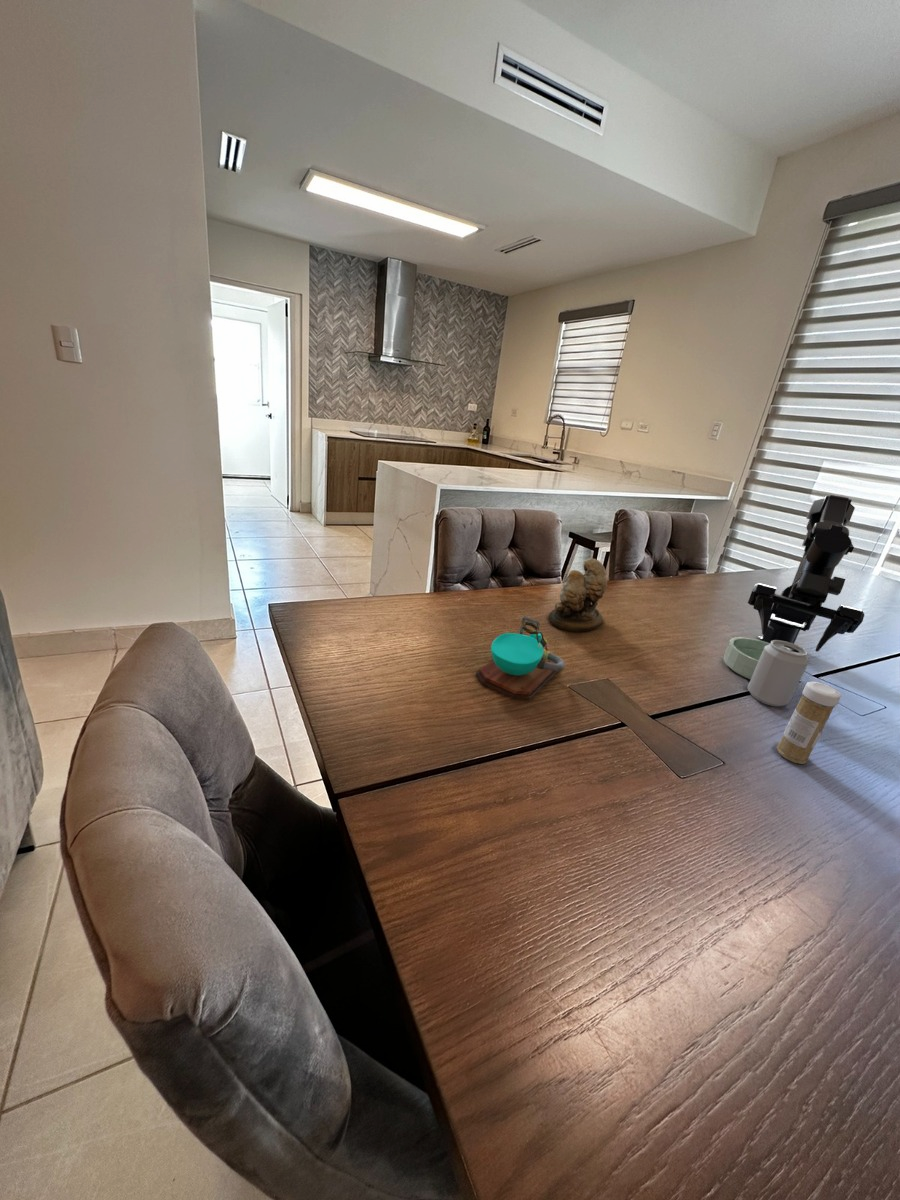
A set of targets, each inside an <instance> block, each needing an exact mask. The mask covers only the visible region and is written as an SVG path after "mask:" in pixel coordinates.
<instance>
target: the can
mask: <svg viewBox="0 0 900 1200" xmlns="http://www.w3.org/2000/svg"><path fill="white" fill-rule="evenodd" d="M808 653H809V652H808V651H807V649H805V648H803V647H801V646H800V645H798V644H795V643H794V644H793V643H790V642H786V641H781V640H773V641H771V644H769V645H767V646H765V647H764V650H763V652H762V654H761V657H760V659H759V661H758V664H757V666H756V668H755V671H754V673H753V676H752V678H751V680H750V679H749V682H748V685H747V690H748V692H749V694H750V696H752V697H753V698H754V699H755V700H756V701H758V702H760V703H762V704H765V705H767V706H770V707H771V706H772V707H778V708H779V707H783V706H788V705H789V704H790V703H791V702H792V698H793V697H794V694H795V693H796V690H797V689H798V686H799V684H800V681H801V680H802V677H803V676H804V673H805V671H806V669H807V667H808V664H809V658H808V657H807V656H808Z"/></svg>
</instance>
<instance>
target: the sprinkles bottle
mask: <svg viewBox="0 0 900 1200" xmlns="http://www.w3.org/2000/svg"><path fill="white" fill-rule="evenodd" d="M840 699H841V693H840V692H839V691H838V690H837V689H835V688H834V687H832V686H830V685H827V684H825V683H822V682H818V681H808V682H806V683H805V686H804V688H803V690H802V693H801V697H800V699H799V701H798V703H797V705H796V707H795V709H794V711H793V713H792V715H791V717H790V719H789V721H788V723H787V725H786V727H785V728H784V732H783V735H782V737H781V739H780V741H779V743H778V744H777V746H776V752H777V753H778V754H779V756H781V757H782V758H784V759H786V760H788V761H790V762H791V763H794V764H799V765H804V764H806V763H808V762H809V757H810V756H811V753H812V752H813V749H814V748H815V747H816V745H817V743H818V741H819V739H820V737H821V735H822V732H823V730H824V728H825V725H826V723H827V722H828V720H829V719H830V715H831V714H832V712H833V709H834V708H835V707H836V706H837V705H838V704H839V701H840Z"/></svg>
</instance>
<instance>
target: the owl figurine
mask: <svg viewBox="0 0 900 1200" xmlns="http://www.w3.org/2000/svg"><path fill="white" fill-rule="evenodd" d="M583 570H584V574H583V573H582V572H581V571H579V570H577V569H571V570H569V572H568V575H567V576H566V577H565V578H564V581H563V583H562V587H561V589H560V593H559V600H560V602H556V603H555V605H554V609H553V610H551V611H550V612H549V615H548V621H549V623H550V624H551V625H552V626H554V627H555V628H558V629H560V630H564V631H566V632H570V633H571V632H572V633H573V632H574V633H579V632H580V633H582V632H588V631H592V630H595V629H597V628H598V627H599V626H600V625H601V624H602V622H603V615H602V614H601V612H600V611H599V610H598V609H597V606H598V603H599V601H600V600H601V599H602V598H603V597H604V594H605V593H606V590H607V587H608V577H607V571H606V568H605V566H604V564H603V563H602V562H601V561H600V560H599V559H596V558H593V557H589V558H587V559H585V560H584V563H583Z"/></svg>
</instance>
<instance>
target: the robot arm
mask: <svg viewBox="0 0 900 1200" xmlns="http://www.w3.org/2000/svg"><path fill="white" fill-rule="evenodd" d="M852 501H853V499H851V498H849V497H846V496H841V495H834V494H829V495H828V494H827V495H825V496H824V498H819V499H816V500H813V502H812V504H811V506H810V508H809V510H808V512H807V516H806V520H807V521H808V522H807V524H806V526H805V527H806V530H807V532H806V534H805V537H804V539H803V542H802V545H801V546H802V547H804V548H803V549H804V550H803V551H804V552H803V554H802V557H801V560H800V562H799V565H798V568H797V570H796V572H795V575H794V578H793V580H792V583H791V585H790V586H787V587H785V588H784V590H782V591H781V593H780V594H777V593H776V591H777V586H771V585H768V584H765V583H761V582H758V583H755V584H754V585H753V588H752V589H751V593H750V596H749V599H748V601H747V604H748V605H749V606H753V610H755V611H757V612H758V615H759V619H760V627H761V636H759V635H758V637H757V640H761V641H764V642H768V643H770V644H771V641H773V640H781V641H786V642H790V643H793V644H795V643H796V640H797V638H798V635H799V634H800V632H801V631H803V632H806V631H810V628H811V626H812V624H813V623H814V621H815V619H816V617H817V616H818V617H821V618H824V619H828V620H830V621H829V624H828V625H827V626H826V628H825V630H824V631H823V634H822V635H821V637H820V639H819V641H818V643H817V644H816V648H815V652H820V650H821V649H822V648H823V647H824V646H825V644H827V642H828V641H829V640H830V639H831V638H833V637H835V636H836V635H837V634H838V635H845V633H847V634H853V633H854V632H856V630H857V629H858V628H859V627H860V625H862V623H863V621H864V618H865V612H864V610H863V609H860V608H857V607H852V606H849V605H846V604H845V605H844V604H839V606H838V608H837V609H832V608H829V607H825V606H822V605H823V604H825V602H826V601H827V598H828V595H832V596H833V595H834V596H839V595H840V594H841V592H842V591H843V588H844V585H845V582H846V578H844V577H839V576H833V574H834V571H835V569H836V567H837V566H839V564H840V562H841V561H842V560H843V558H844V556H847V555H849V553H853V551H854V549H855V546H854V544H853V542H852V538H850V528H849V527H847V526H848V524H849V523H850V522H851V520H852V517H853V514H854V511H855V509H856V507H855V506H854V505H853V504H852Z"/></svg>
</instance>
